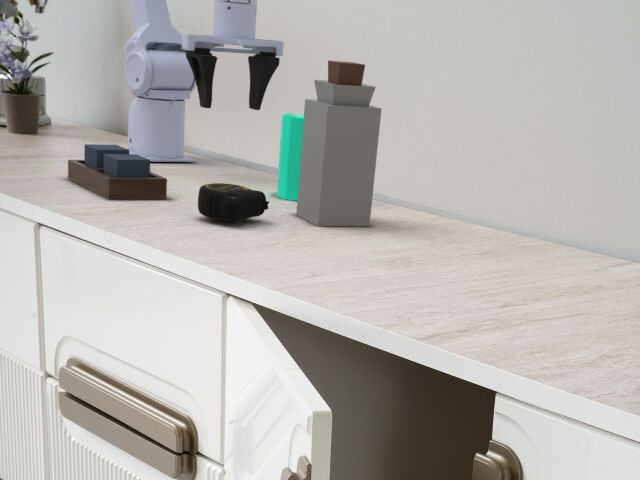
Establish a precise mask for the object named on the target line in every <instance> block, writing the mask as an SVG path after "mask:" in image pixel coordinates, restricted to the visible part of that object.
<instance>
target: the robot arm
mask: <svg viewBox="0 0 640 480" xmlns="http://www.w3.org/2000/svg"><path fill="white" fill-rule="evenodd" d="M128 3H129V7H130V11H131V16H132V17H131V18H132V21H133V25H134V29H135V33H133V34H132V35H131V37H129V39H128V40H127V41H126V43H125V44H124V46H123V53H124V77H125V80H126V83H127V86H128V87H129V89H130V91H132V96H136V97H135V99H134V98H133V100H132V102H130V103H131V104H130V105H129V108H128V118H127V119H128V120H127V149H128V150H129V154H137V155H139V156H142V157H144V158H147V159H149V160H150V163H151V162H152V163H153V162H155V163H156V162H158V163H159V162H161V163H163V162H164V163H167V162H168V163H173V162H174V163H193V162H194V161H195V160H194V158H193V157H190V156H188V155H184V153H185V152H184V151H185V128H186V127H185V125H186V100H190V98H191V94H192V93H193V92H194V91H195V90H196V89H197V94H198V99H199V107H200V108H204V109H212V104H213V103H212V102H213V86H214V85H213V83H214V76H215V70H216V67H217V66H216V65H217V62H218V57H217V56H216V55H213V53H212V52H215V53H232V54H233V53H234V54H246V55H247V54H249V56H248V57H247V61H248V62H247V63H248V69H249V70H248V71H249V91H248V92H249V94H248V107H249V109H250V110H253V111H254V110H255V111H260V110H261V107H262V103H263V100H264V97H265V93H266V91H267V88H268V86H269V83H270V81H271V79H272V77H273V76H274V74H275V72H276V71H277V69H278V67H279V65H280V60H281V59H280V57H284V45H285V43H284V42H285V41H283V40H282V41H281V40H276V39H275V40H274V39H263V38H256V29H257V13H258V11H257V10H258V0H214V8H213V9H214V10H213V29H212V35H210V34H207V35H206V34H189V33H181V31H179V30H178V29H176V28H175V27H174V26H173V25H172V21H171V17H170V12H169V7H168V4H167V0H128ZM225 45H226V46H228V45H229V46H240V47H242V48H230V47H229V48H228V47H225Z"/></svg>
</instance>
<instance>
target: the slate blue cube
mask: <svg viewBox="0 0 640 480" xmlns="http://www.w3.org/2000/svg"><path fill="white" fill-rule="evenodd" d="M104 154H129V150H128V148H125V147H123V146H121V145H118V144H97V143H96V144H95V143H94V144H89V143H88V144H84V159H83V160H84V165H86V166H88V167H91V168H104Z"/></svg>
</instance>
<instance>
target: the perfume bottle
mask: <svg viewBox="0 0 640 480" xmlns="http://www.w3.org/2000/svg"><path fill="white" fill-rule="evenodd" d="M365 68H366V64H363V63H358V62H352V61H341V60H327V80H325V79H324V80H323V79H313V81H314V86H315V94H316V98H317V99H311V98H310V99H309V98H305V99H304V107H303V114H304V120H303V133H302V146H301V160H300V173H299V186H298V199H297V201H296V212H295V213H296V214H295V215H296V216H298V217H300V218H302V219H303V220H306V221H307V222H308V223H311V224H313V225H315V226H316V227H370V226H371V225H370V224H371V217H372V216H371V215H372V206H373V196H374V186H375V176H376V166H377V157H378V147H379V138H380V129H381V128H380V127H381V118H382V117H381V116H382V107H377V106H374V105H370V104H371V102H372V99H373V96H374V93H375V90H376V86H374V85H368V84H364V83H363V79H364V74H365V70H366V69H365Z"/></svg>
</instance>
